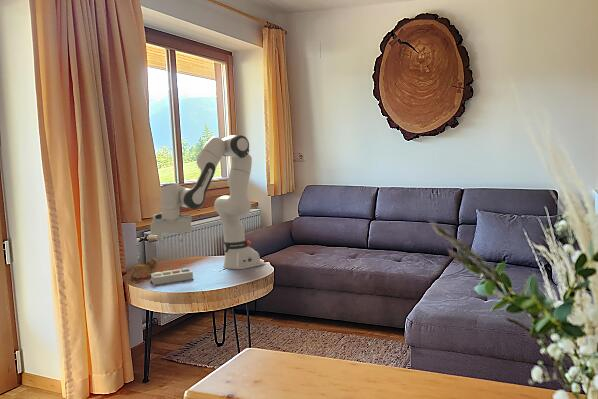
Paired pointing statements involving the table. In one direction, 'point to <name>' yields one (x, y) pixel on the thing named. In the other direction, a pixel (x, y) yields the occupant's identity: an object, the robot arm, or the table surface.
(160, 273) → the key cream
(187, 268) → the key slate
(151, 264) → the lion figurine
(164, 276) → the keypad
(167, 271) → the key sage
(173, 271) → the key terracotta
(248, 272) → the table surface
